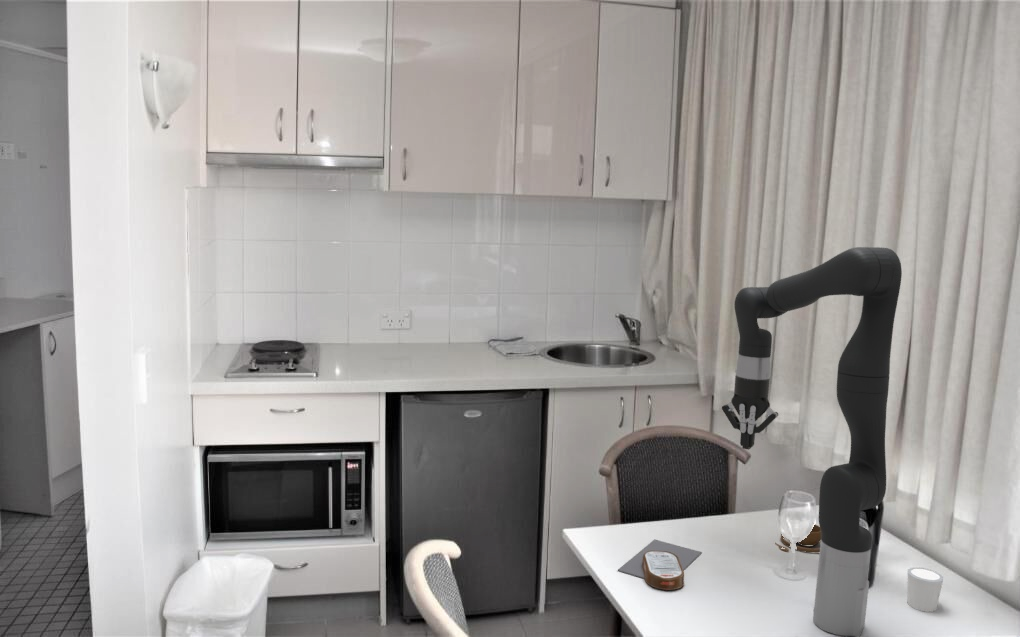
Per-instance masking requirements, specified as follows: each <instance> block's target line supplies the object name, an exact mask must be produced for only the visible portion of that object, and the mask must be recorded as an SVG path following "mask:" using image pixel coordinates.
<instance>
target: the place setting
mask: <svg viewBox="0 0 1020 637" xmlns="http://www.w3.org/2000/svg"><path fill="white" fill-rule="evenodd" d="M814 524H815V523H814ZM783 538H784V537H783V536H782V534H781V533H780V540H781V542H782V543H783V544H784V545H785V546H786V547H785V546H782V545H780V544H778V543H777V542H775V544H774V545H776V546H778V549H779V550H781V551H783V552H789V551H790V550H789V548H790V547H789V546H790V542H789V541H787V540H786V539H785V538H784V539H783ZM819 542H821V529H820V525H817V524H815V525H814V527H813V529H812V531H811V532H810V534H809V535H808V536H807V538H805V539H804V540H802V541H801V542H799V543H800V544H802V545H814V546H815V545H817V544H818V543H819ZM800 544H799V545H800ZM799 545H796V546H797V550H796V551H798V550H799V551H798V552H801V551H806V552H805V553H807V552H820V548H809V547H805V546H802V545H801V546H799ZM782 547H783V548H785V549H781V548H782ZM787 547H788V548H787Z"/></svg>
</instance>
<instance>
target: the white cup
mask: <svg viewBox="0 0 1020 637" xmlns="http://www.w3.org/2000/svg"><path fill="white" fill-rule="evenodd" d="M943 582H944V576H943V575H942V574H941V573H939V572H937V571H935V570H932V569H929V568H925V567H917V566H916V567H915V566H914V567H910V568H908V569H907V582H906V583H907V589H906V590H907V592H906V593H907V595H906V596H907V599H906V600H907V601H906V602H907V604H908V605H909V607H911V608H913V609H915V610H918V611H922V612H927V613H928V612H935V611H936V610H937V609H938V603H939V599H940V595H941V591H942V586H943Z"/></svg>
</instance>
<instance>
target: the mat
mask: <svg viewBox="0 0 1020 637" xmlns="http://www.w3.org/2000/svg"><path fill="white" fill-rule="evenodd" d="M651 550H653V551H668V552H671V553H673V554H675V555H676V556H678V558H679V561H680V563H681V566H682V569H683V572H685V570H687V569H688V567H689V566H690V565H691V564H692V563H694V561H695V560H696V559H698V558H699V556H701V554H702V553H703V552H702V551H699V550H697V549H696V550H695V549H691V548H688V547H685V546H681V545H677V544H673V543H669V542H666V541H662V540H658V539H653V540H652V541H651V542H650V543H648V544H647V545H646V546H644V547H643V548H642V549H641V550H640V551H638V553H636V554H635V555H633V556H632V558H630V559H628V560H627V562H625V563H624V564H623V565H622V566H620V567H619V568H618V569H617V572H620V573H624V574H626V575H630V576H633V577H636V578H640V579H643V580H645V576H644V572H643V568H642V562H643V555H644V553H645V552H647V551H651Z"/></svg>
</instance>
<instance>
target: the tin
mask: <svg viewBox="0 0 1020 637" xmlns="http://www.w3.org/2000/svg"><path fill="white" fill-rule="evenodd" d="M642 568H643V572H644V576H645V579H644V580H645V582H646V583H647V584H648V585H649V586H650V587H653V588H655V589H660V590H666V591H667V590H668V591H670V590H672V591H673V590H674V591H675V590H678V589H680V588H683V586H684V584H685V581H684V580H685V573H684V572H685V571H683V569H682V566H681V563H680V561H679V558H678V556H676V555H675V554H673V553H671V552H668V551H653V550H651V551H647V552H645V553H644V555H643V562H642Z"/></svg>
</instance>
